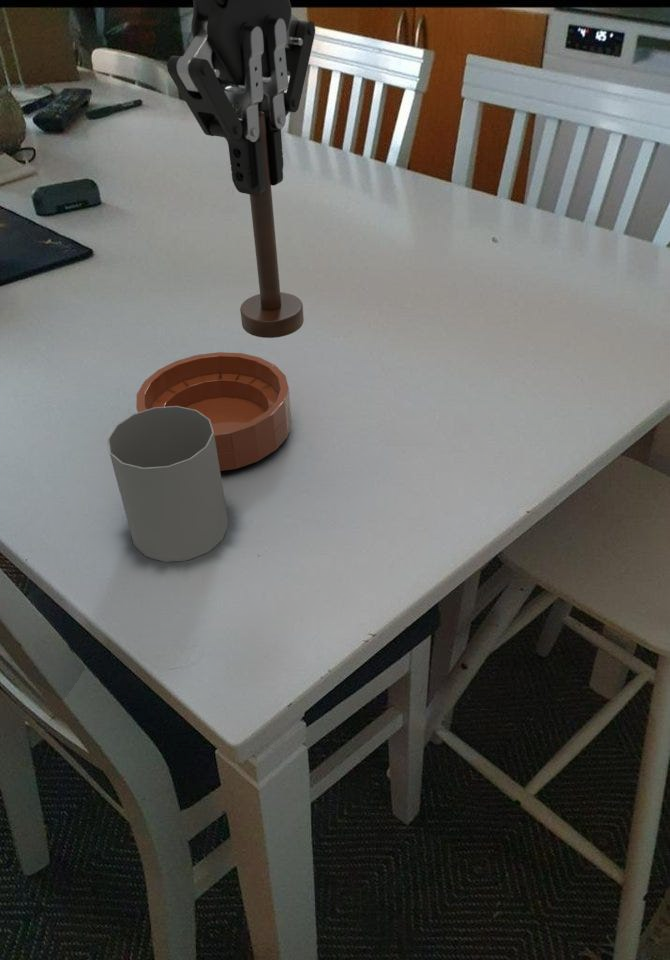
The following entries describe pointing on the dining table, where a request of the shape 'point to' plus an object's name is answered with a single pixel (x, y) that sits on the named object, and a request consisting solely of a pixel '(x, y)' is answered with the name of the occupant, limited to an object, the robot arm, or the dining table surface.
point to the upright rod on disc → (268, 268)
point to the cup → (170, 482)
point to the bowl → (227, 401)
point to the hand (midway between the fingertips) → (259, 186)
